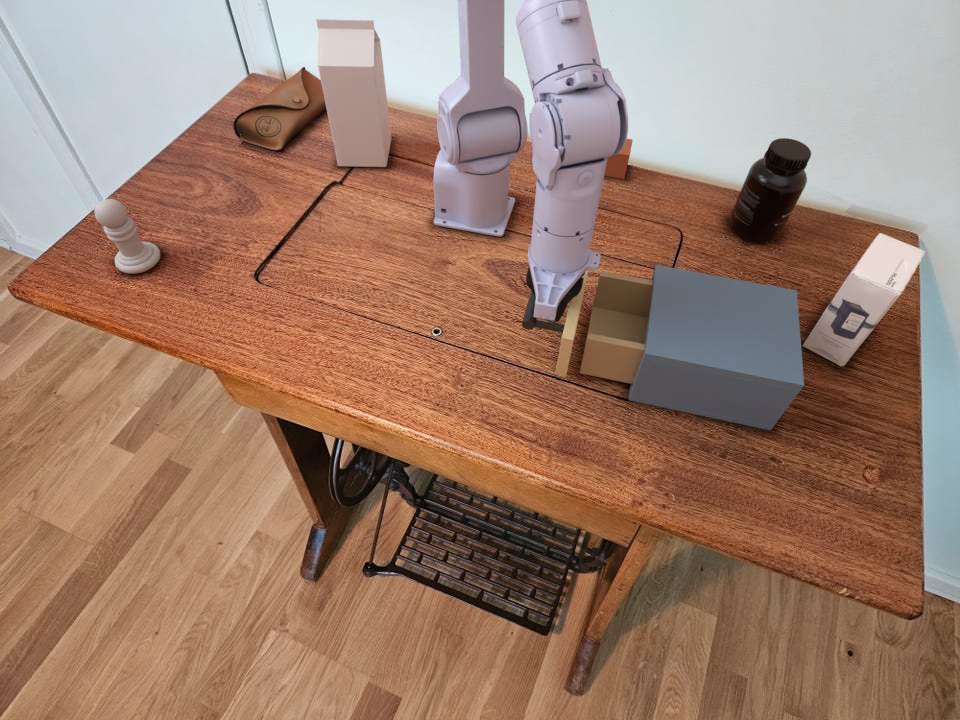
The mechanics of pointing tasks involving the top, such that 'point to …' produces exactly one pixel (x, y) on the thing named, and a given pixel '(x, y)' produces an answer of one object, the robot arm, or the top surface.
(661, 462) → the top surface
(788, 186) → the supplement bottle
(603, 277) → the drawer
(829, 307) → the ink box
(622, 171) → the block
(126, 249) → the chess piece
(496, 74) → the robot arm
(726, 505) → the top surface
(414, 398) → the top surface
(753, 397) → the cabinet
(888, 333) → the top surface
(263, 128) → the sunglasses case
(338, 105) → the milk carton
